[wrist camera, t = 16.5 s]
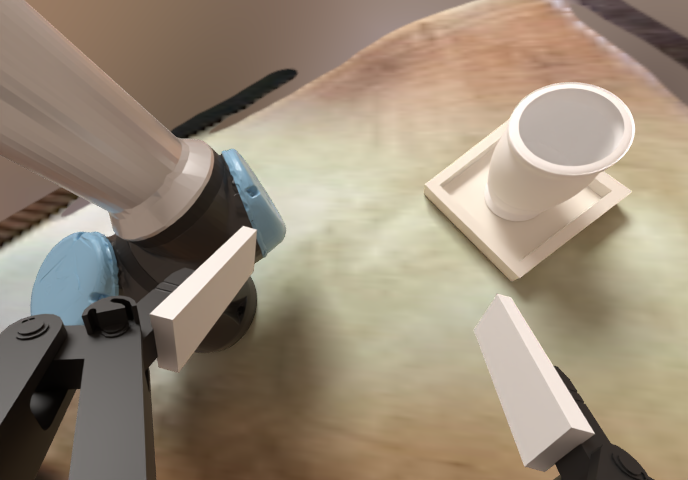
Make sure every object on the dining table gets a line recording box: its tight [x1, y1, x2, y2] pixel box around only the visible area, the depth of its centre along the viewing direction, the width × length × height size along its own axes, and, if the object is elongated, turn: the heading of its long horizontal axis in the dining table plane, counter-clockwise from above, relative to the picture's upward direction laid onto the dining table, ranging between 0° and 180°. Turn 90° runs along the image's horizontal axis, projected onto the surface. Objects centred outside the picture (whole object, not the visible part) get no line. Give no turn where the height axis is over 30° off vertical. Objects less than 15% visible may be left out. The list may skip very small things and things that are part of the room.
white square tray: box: [424, 120, 632, 282], centre depth 40 cm, size 18×18×3 cm
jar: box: [484, 82, 635, 221], centre depth 33 cm, size 11×10×15 cm
